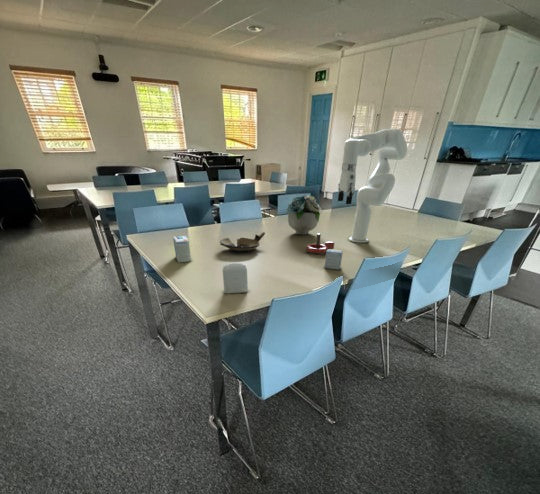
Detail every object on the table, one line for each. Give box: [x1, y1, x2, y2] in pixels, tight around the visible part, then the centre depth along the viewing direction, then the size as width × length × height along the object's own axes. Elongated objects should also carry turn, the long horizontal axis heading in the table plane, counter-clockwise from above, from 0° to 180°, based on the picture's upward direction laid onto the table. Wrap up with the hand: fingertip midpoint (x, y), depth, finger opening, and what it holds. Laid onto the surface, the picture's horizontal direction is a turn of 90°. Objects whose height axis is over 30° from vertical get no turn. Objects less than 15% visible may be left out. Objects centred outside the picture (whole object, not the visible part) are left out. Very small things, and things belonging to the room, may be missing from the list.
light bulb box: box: [172, 235, 192, 263], centre depth 165 cm, size 11×7×11 cm, turn 23°
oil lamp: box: [219, 231, 266, 252], centre depth 183 cm, size 22×30×8 cm
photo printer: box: [222, 262, 249, 294], centre depth 130 cm, size 10×4×12 cm, turn 100°
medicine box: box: [323, 249, 344, 271], centre depth 159 cm, size 8×4×9 cm, turn 71°
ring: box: [306, 241, 335, 253], centre depth 183 cm, size 16×12×4 cm
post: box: [306, 232, 326, 256], centre depth 182 cm, size 10×10×10 cm
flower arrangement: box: [285, 194, 323, 235], centre depth 214 cm, size 25×25×24 cm
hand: (344, 202), depth 178 cm, fingers open, 9 cm apart
